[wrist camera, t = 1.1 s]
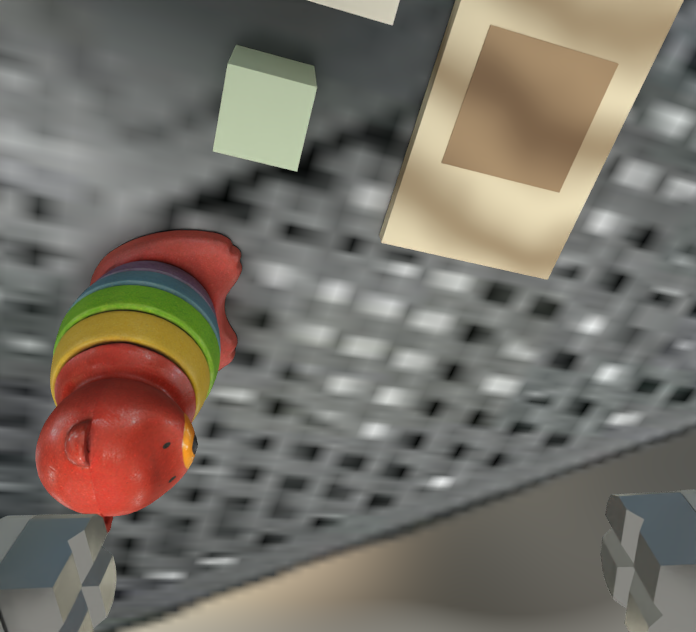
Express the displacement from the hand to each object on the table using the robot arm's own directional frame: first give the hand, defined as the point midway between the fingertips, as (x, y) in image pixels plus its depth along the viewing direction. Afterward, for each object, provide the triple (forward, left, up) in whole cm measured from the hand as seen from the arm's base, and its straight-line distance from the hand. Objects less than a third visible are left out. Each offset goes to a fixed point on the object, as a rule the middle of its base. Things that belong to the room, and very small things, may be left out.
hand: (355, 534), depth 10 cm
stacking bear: (+16, -6, -32) cm, 36 cm away
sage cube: (+1, -2, -32) cm, 32 cm away
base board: (-2, +13, -32) cm, 34 cm away
